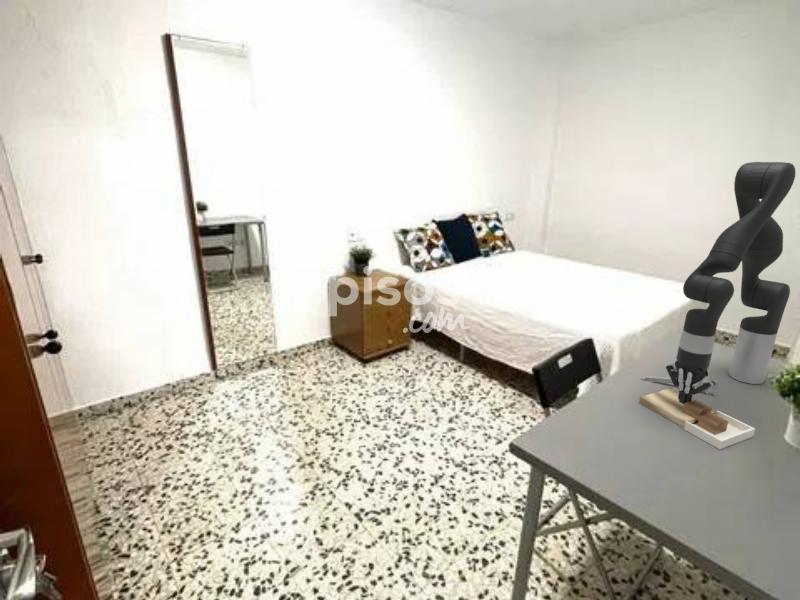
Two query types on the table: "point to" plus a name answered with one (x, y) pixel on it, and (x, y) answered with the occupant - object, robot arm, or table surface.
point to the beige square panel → (668, 406)
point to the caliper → (668, 380)
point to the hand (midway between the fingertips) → (683, 402)
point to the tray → (721, 440)
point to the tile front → (712, 423)
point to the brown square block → (696, 409)
